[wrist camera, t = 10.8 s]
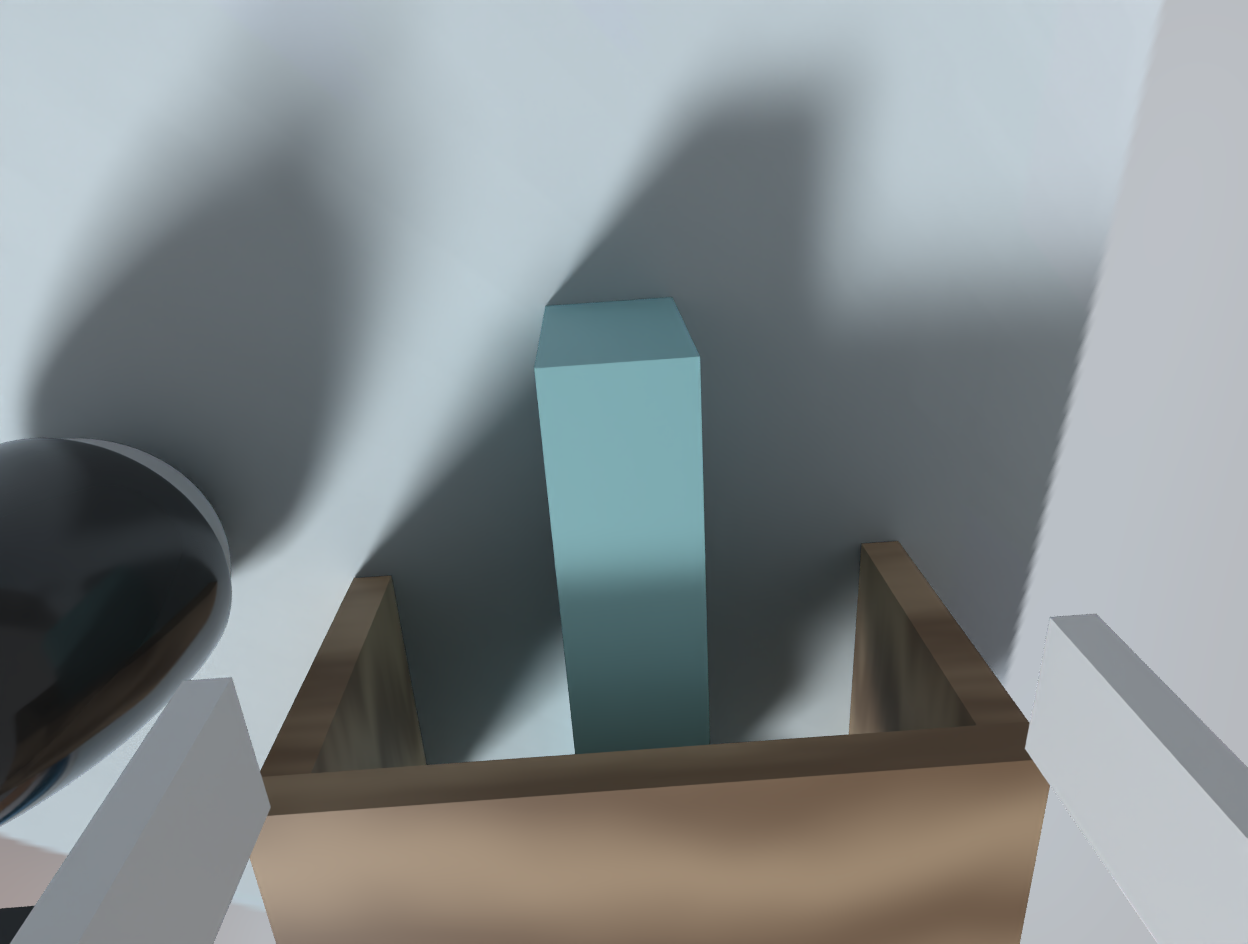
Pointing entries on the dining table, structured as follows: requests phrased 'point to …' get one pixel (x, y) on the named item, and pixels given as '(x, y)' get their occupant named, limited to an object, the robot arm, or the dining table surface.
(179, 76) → the dining table surface
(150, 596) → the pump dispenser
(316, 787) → the walnut shelf
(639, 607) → the teal batten
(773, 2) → the dining table surface
